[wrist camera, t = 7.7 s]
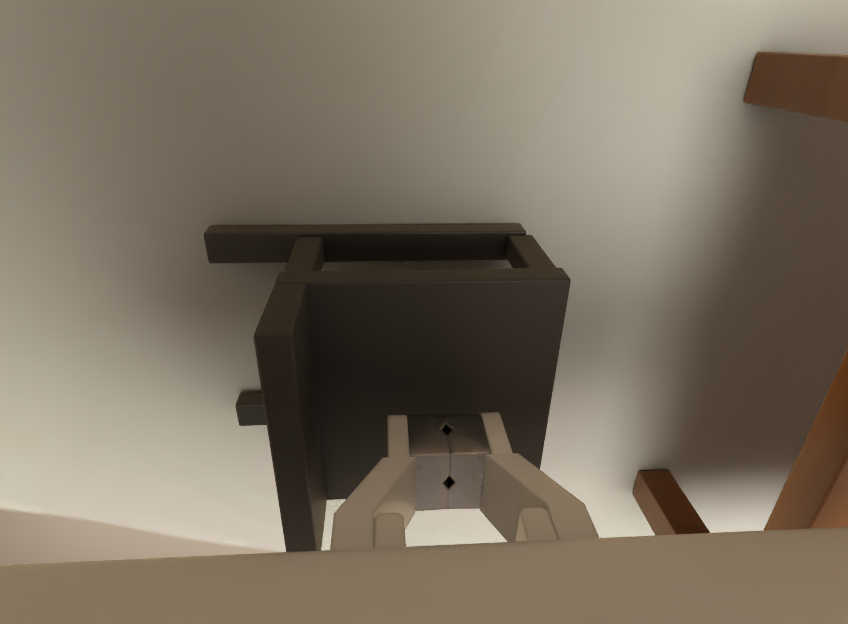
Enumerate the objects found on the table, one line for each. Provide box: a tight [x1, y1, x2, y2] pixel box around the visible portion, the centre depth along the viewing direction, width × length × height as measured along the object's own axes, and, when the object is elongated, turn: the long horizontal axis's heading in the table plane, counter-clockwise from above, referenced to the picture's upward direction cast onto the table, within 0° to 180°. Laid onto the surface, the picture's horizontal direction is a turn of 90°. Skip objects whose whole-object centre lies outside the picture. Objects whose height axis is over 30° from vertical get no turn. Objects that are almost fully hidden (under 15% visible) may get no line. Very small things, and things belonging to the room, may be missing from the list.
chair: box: [204, 224, 571, 552], centre depth 16 cm, size 10×8×7 cm
